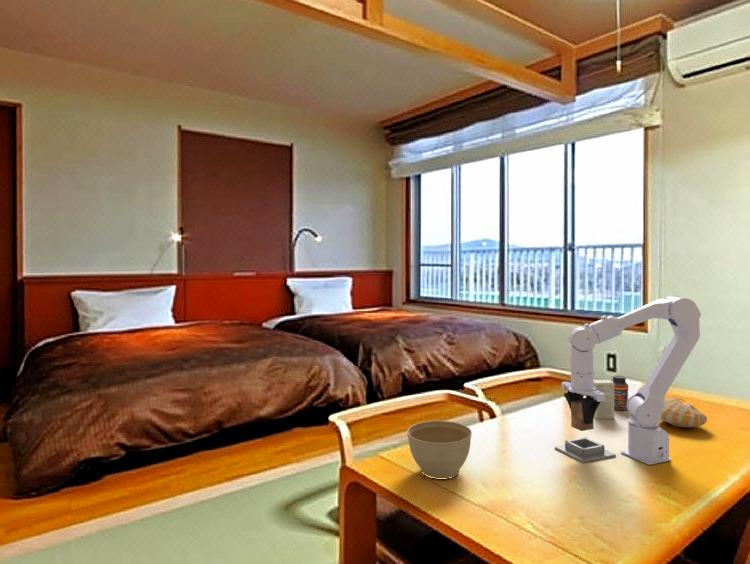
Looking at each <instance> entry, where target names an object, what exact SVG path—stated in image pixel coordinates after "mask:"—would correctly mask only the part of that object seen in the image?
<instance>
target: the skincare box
mask: <svg viewBox="0 0 750 564" xmlns="http://www.w3.org/2000/svg"><path fill="white" fill-rule="evenodd" d="M612 381H613V380H611V379H593V388H595V389H596V390H598V391H600V392H602V393H604V394H605V401H601V403H600V404H599V406H598V407H597V409H596V412H595V415H594V418H593V419H597V420H603V419H609V420H610V419H612V420H613V419H615V410H614V382H612Z"/></svg>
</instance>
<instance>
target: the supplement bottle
mask: <svg viewBox="0 0 750 564" xmlns="http://www.w3.org/2000/svg"><path fill="white" fill-rule="evenodd" d="M626 379H627V378H626V376H624V375H613V377H612V380H611V381H612V382H614V411H622V412H623V411H628V409H627V401H628V399H629V384H628V383H627V381H626Z"/></svg>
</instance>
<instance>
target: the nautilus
mask: <svg viewBox="0 0 750 564" xmlns="http://www.w3.org/2000/svg"><path fill="white" fill-rule="evenodd" d="M683 402H687V401H686V400H684V399H680V398H677V397H671V398H668V397H667V398H664V407H663V409H662V411H661V419H660V421H662V422H665V423H667V424H670V425H672V426H673V427H679V428H681V427H682V428H690V429H692V428H696V427H701V426H703V425H705V424H706V423H707V422H708V418H707V417H708V416H707V415H705V414H704V413H702V412H700V410H699V409H697V408H696V407H695V406H694V405H692V404H690V403H683Z"/></svg>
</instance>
